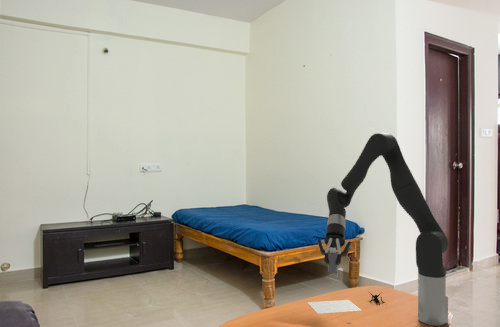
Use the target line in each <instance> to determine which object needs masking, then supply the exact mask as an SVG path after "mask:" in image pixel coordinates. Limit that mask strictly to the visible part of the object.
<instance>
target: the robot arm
mask: <svg viewBox="0 0 500 327" xmlns="http://www.w3.org/2000/svg"><path fill="white" fill-rule="evenodd" d="M381 156H382V158H383V160H384V161H385V163H386V165H387V167H388V170H389V175H390V185H391V188H392V192H393V194H394V196H395V198H396V200H397V202H398V203H399V205H400V207H402V209H403V210H404V211H405V212H406V214H408V216H409V217H410V218H411V219H412V221H414V223H415V225H416V227H417V228H418V231H419V235H418V236H417V238H416V240H415V263H416V267H417V320H418V321H419V322H421V323H423V324H426V325H429V326H435V327H436V326H444V325H445V324H449V297H448V296H447V295H446V294H447V293H446V292H447V291H446V289H447V286H446V283H447V282H446V278H447V277H446V275H447V272H446V271H447V270H446V268H445V266H444V265H443V262H444V261H443V254H444V253H445V252H446V251H447V250H448V248H449V240H448V237H447V235H446V234H445V232H444V231H443V229H442V227H441V226H440V224H439V223H438V222H437V220H436V218H435V216H434V215H433V213H432V211H431V209H430V207H429V205H428V203H427V200H426V199H425V197H424V194H423V193H422V190H421V188H420V185H419V184H418V182H417V181H416V179H415V177H414V176H413V174H412V171H411V169H410V167H409V166H408V164H407V162H406V160H405V157H404V155H403V153H402V150H401V148H400V144H399V143H398V140H397V139H396V137H395V136H394V135H393V134H391V133H388V132H376V133H373V134H372V135H371V136H370V137H369V139H367V142H366V144H365V145H364V147H363V149H362V151H361V152H360V154H359V156H358V157H357V160H356V162H355V163H354V164H353V166H352V167H351V169H350V170H349V171H348V173H347V174H346V175H345V177H344V178H343V179H342V181H341V182H340V185H341V188H342V189H343V190H341V189H339V188H337V187H332V188H330V189H329V190H328V192H327V194H326V202H327V207H328V212H329V213H328V219H327V224H326V231H325V237H324V239H319V238H318V239H317V244H318V248H319V250H320V254H321V256H322V255H324V259H323V260H324V263H325V264H326V265H328V252H329V251H330V247H331V248H336V252H338V254H337V265H338V266H340V265H341V264H342V257H345V258H346V256H348V253H349V251H350V250H351V249H352V248H351V247H352V242H351V241H347V240H346V239H345V236H346V234H345V233H346V215H347V214H346V213H347V210H346V208H347V207H349V205H350V204H351V202H352V199H353V197H354V195H355V193H356V191H357V189H358V188H359V186H361V185H362V183H363V182H364V181H365V178H366V176H367V174H368V172H369V169H370V167H371V166H372V164H373V163H374V162H375V161H376V160H377V159H378V158H380V157H381ZM324 244H325V245H326V249H325V250H324ZM343 246H345V247H344V249H343V250H341V248H343Z"/></svg>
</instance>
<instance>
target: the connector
mask: <svg viewBox="0 0 500 327" xmlns="http://www.w3.org/2000/svg"><path fill="white" fill-rule="evenodd" d="M337 254H338V251H337V250H336V248H331V247H330V251H329V252H328V264H327V273H329V274H338V270H339V265H337Z"/></svg>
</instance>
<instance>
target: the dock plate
mask: <svg viewBox="0 0 500 327" xmlns="http://www.w3.org/2000/svg"><path fill="white" fill-rule="evenodd" d="M307 304H308V305H309V306H310V307H311V309H313V310H314V311H315V313H317V314H318V315H320V314H323V315H324V314H334V313H335V314H336V313H348V312H350V313H351V312H362V311H363V309H361V308H359V307H358V306H357V305H356V304H355V303H353V302H352V301H351V300H350V299H341V300H340V299H339V300H326V301H325V300H324V301H310V302H307Z"/></svg>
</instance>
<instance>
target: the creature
mask: <svg viewBox="0 0 500 327" xmlns="http://www.w3.org/2000/svg"><path fill="white" fill-rule="evenodd" d="M367 292H368V293H369V294H370V295H371V296H372V297H371V299H370V300H369V301H368V303H372V301H374V302H375V303H376V306H380V305H381V304H380V300H381V302H382V303H385V304H386V302H385V301H384V300H383V299H382V298H383V297H382V296H380V295H382V292H380V293H379V294H378V295H377V294H374V295H373V294H372V293H371V292H370V291H367ZM379 297H380V300H379Z"/></svg>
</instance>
